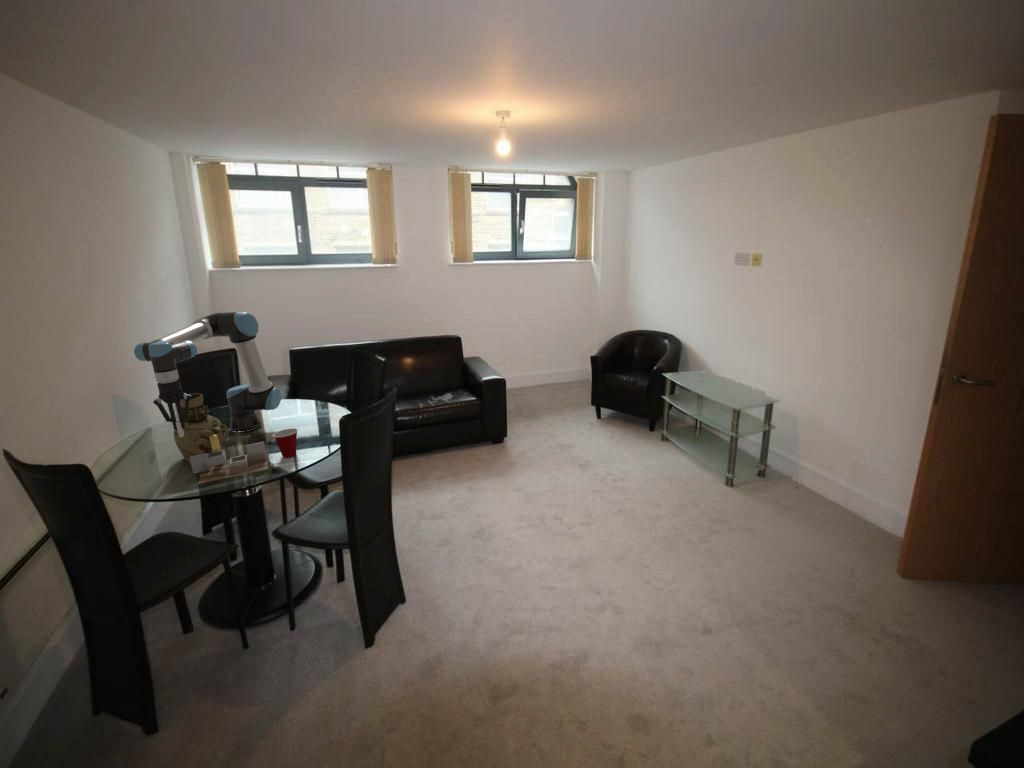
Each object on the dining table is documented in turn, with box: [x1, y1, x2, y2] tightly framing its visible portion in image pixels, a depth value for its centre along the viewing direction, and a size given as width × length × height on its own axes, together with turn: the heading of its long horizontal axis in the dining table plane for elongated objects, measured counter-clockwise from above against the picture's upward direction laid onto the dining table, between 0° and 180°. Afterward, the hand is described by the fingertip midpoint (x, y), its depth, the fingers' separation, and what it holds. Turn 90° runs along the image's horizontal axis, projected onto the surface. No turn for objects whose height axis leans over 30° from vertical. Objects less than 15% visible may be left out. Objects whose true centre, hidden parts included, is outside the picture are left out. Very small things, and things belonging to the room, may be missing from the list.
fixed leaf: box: [229, 441, 268, 471], centre depth 215 cm, size 7×14×8 cm, turn 118°
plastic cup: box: [271, 427, 298, 459], centre depth 225 cm, size 11×11×12 cm
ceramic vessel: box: [173, 392, 229, 465], centre depth 223 cm, size 19×21×30 cm
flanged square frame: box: [190, 449, 227, 474], centre depth 208 cm, size 7×13×8 cm, turn 117°
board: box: [197, 451, 269, 485], centre depth 214 cm, size 20×26×1 cm
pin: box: [209, 434, 224, 466], centre depth 215 cm, size 3×3×14 cm
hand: (181, 435), depth 200 cm, fingers closed
